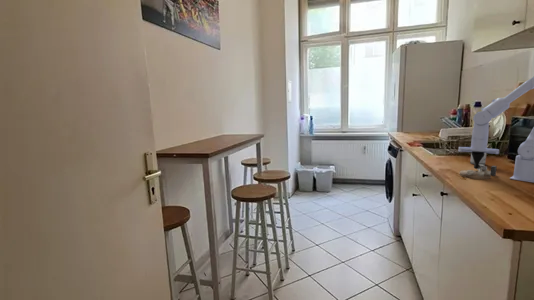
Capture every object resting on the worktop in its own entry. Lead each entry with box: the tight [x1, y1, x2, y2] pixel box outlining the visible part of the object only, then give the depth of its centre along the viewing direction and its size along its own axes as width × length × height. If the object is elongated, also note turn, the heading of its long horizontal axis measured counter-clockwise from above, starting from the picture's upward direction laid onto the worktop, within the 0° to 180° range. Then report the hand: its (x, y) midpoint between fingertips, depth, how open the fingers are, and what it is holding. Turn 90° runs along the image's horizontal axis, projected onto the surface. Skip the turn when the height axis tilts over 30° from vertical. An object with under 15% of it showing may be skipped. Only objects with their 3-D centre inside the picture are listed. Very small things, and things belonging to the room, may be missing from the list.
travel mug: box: [469, 124, 491, 166], centre depth 146 cm, size 6×7×20 cm
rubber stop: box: [490, 165, 498, 177], centre depth 126 cm, size 1×2×4 cm, turn 128°
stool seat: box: [459, 169, 491, 180], centre depth 125 cm, size 11×11×3 cm
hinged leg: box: [476, 164, 488, 172], centre depth 127 cm, size 7×2×3 cm, turn 156°
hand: (475, 168), depth 130 cm, fingers closed
